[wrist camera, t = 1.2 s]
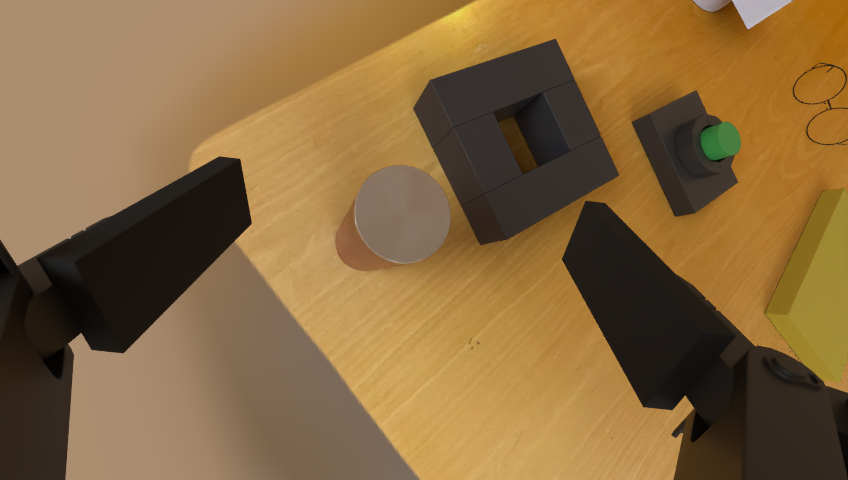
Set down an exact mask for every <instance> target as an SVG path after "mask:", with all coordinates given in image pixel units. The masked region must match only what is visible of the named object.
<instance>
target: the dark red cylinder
mask: <svg viewBox="0 0 848 480" xmlns="http://www.w3.org/2000/svg"><path fill="white" fill-rule="evenodd" d="M450 222H451V212H450V206H449V202H448V199H447V197H446V194H445V193H444V191H443V189H442V188H441V186H440V185H439V184H438V183H437V181H436V180H435V179H434V178H432V177H431V176H430V175H429V174H427V173H426V172H424V171H422V170H420V169H417V168H414V167H411V166H405V165H394V166H389V167H386V168H383V169H381V170H379V171H377V172H375V173H374V174H372V175H371V176H370V177H369V178H368V179H367V180H366V181H365V182H364V183H363V185H362V186H361V188H360V190H359V192H358V194H357V195H356V197H355V199H354V201H353V203H352V205H351V207H350V209H349V211H348V212H347V214H346V216H345V218H344V220H343V222H342V224H341V226H340V228H339V229H338V232H337V235H336V249H337V252H338V255H339V256H340V258H341V259H342V261H343V262H344V263H345V264H347V265H348V266H349V267H351V268H353V269H356V270H361V271H369V270H375V269H380V268H386V267H392V266H397V265H403V264H409V263H414V262H418V261H421V260H424V259H426V258H428V257H429V256H431V255H432V254H434V253H435V252H436V251H437V250H438V249H439V248H440V247H441V245H442V244H443V242H444V241H445V239H446V237H447V235H448V232H449V228H450Z"/></svg>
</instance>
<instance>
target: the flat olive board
mask: <svg viewBox="0 0 848 480" xmlns="http://www.w3.org/2000/svg"><path fill="white" fill-rule="evenodd" d="M765 314H766V316H767V317H768V318H769V320H770V321H771V322H772V324H773V325H774V326H775V328H776V329H777V330H778V331H779V333H780V334H781V335H782V337H783V338H784V339H785V341H786V342H787V343H788V344H789V346H790V347H791V348H792V350H793V351H794V352H795V354H796V355H797V356H798V357H799V359H800V360H801V361H802V363H803V364H804V365H805V366H806V367H808V368H809V369H810V370H812V371H813V372H814V373H815V374H816V375H817V376H818V377H819V378H820V379H821V380H827V381H832V382H837V383H839V382H840V380H841V377H842V374H843V371H844V368H845V365H846V362H847V360H848V194H847V192H846V190H845V188H840V189H834V190H829V191H823V192H822V193H821V195H820V197H819V199H818V202H817V204H816V206H815V208H814V210H813V212H812V214H811V216H810V218H809V221H808V223H807V225H806V227H805V229H804V231H803V233H802V235H801V237H800V240H799V242H798V244H797V246H796V248H795V250H794V252H793V254H792V256H791V259H790V261H789V263H788V265H787V267H786V269H785V271H784V273H783V276H782V278H781V280H780V282H779V284H778V286H777V288H776V290H775V292H774V295H773V297H772V299H771V301H770V303H769V305H768V307H767V309H766V311H765Z"/></svg>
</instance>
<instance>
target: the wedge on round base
mask: <svg viewBox="0 0 848 480" xmlns="http://www.w3.org/2000/svg"><path fill="white" fill-rule="evenodd" d="M693 1H694V2H695V3H696V4H697V5H698V6H699V7H701V8H702V9H704V10H706V11H710V12H715V11H718V10H719V9H721V8H722V7H724V6H725V5H727V4H728V3H730V2H731V1H733V3H734V5H735V7H736V8H737V10H738V12H739V14H740V16H741V18H742V20H743V21H744V23H745V25H746V27H747V29H750V28H751V27H753V26H754V25H756V24H757V23H759V22H760V21H762V20H764V19H765V18H767V17H768V16H770V15H771V14H773V13H774V12H776V11H778V10H779V9H781V8H782V7H784V6H785V5H787V4H788V3H790V2H792V1H793V0H693Z"/></svg>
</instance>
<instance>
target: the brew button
mask: <svg viewBox="0 0 848 480" xmlns="http://www.w3.org/2000/svg"><path fill="white" fill-rule="evenodd" d="M701 146H702V148H703V150H704V153H705V155H706V156H707V157H708V158H709V159H710V160H718V159H722V158H725V157H728V156H732V155H735V154H737V153H738V152H739V150H740V146H741V140H740V136H739V133H738V131H737V129H736V128H735V127H734V126H733V125H732V124H731V123H729V122H722V123H720V124H717V125H715V126H712V127H709V128H707V129H704V130H703V131H702V133H701Z"/></svg>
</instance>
